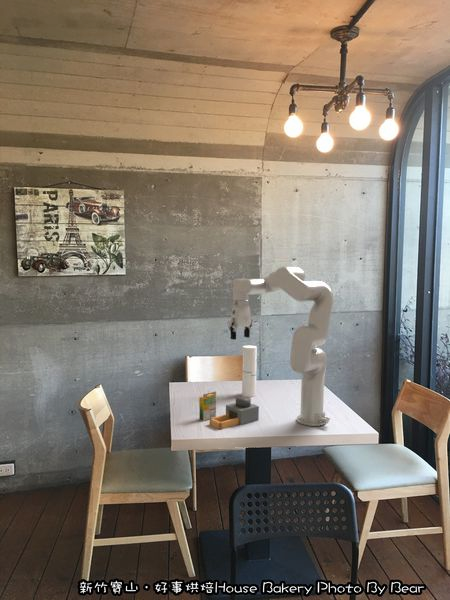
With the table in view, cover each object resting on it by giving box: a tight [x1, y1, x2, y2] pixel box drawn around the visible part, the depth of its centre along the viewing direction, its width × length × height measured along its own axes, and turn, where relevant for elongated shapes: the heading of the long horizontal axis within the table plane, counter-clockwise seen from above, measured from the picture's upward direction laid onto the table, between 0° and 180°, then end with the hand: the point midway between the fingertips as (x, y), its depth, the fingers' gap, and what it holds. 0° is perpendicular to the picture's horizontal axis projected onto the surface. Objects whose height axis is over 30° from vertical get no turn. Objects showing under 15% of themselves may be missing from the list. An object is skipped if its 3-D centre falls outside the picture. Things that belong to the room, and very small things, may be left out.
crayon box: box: [198, 391, 217, 422], centre depth 194 cm, size 7×3×12 cm, turn 131°
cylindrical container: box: [241, 344, 258, 398], centre depth 230 cm, size 7×7×25 cm
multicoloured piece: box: [209, 395, 260, 430], centre depth 191 cm, size 10×20×9 cm, turn 130°
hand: (240, 338), depth 223 cm, fingers open, 9 cm apart
